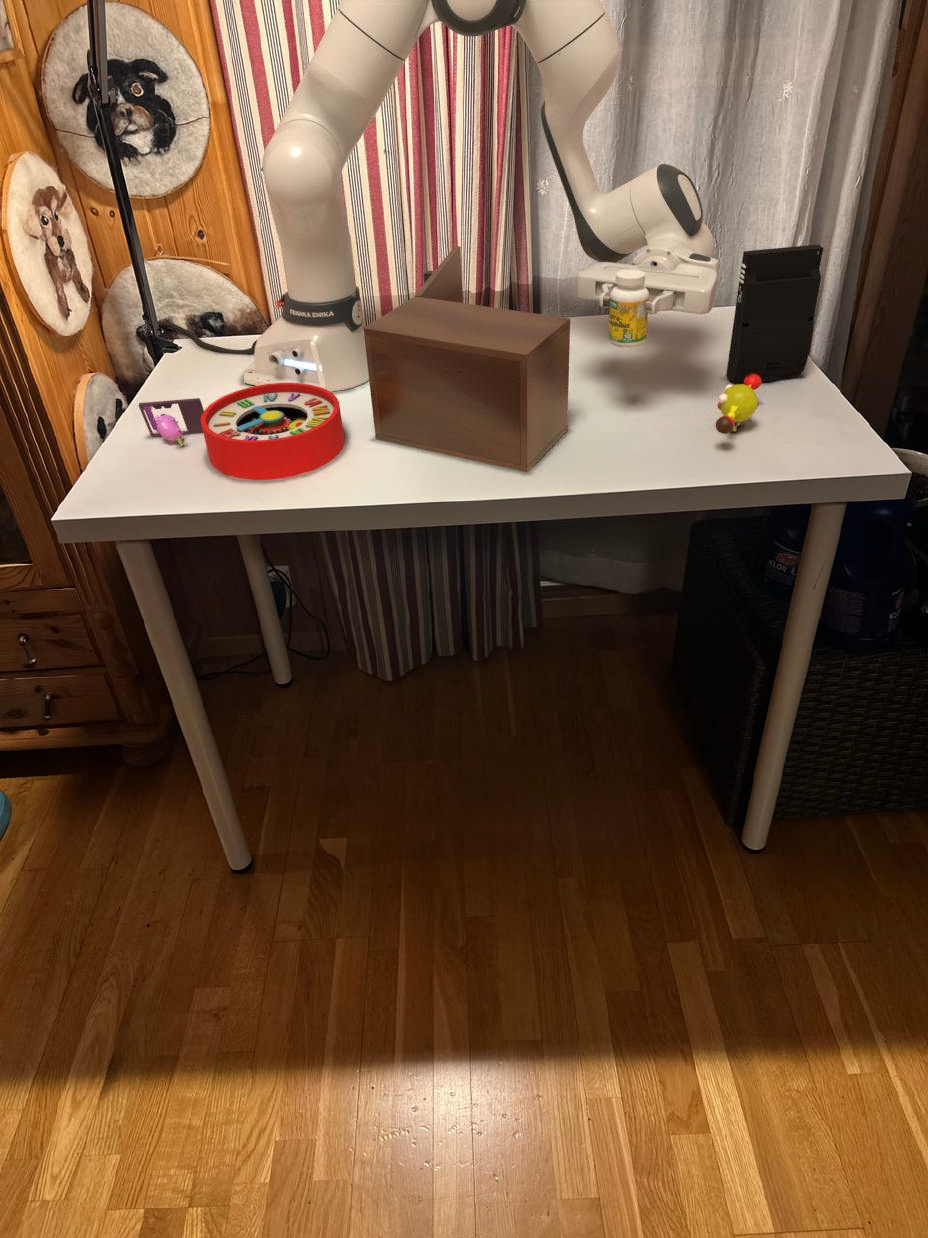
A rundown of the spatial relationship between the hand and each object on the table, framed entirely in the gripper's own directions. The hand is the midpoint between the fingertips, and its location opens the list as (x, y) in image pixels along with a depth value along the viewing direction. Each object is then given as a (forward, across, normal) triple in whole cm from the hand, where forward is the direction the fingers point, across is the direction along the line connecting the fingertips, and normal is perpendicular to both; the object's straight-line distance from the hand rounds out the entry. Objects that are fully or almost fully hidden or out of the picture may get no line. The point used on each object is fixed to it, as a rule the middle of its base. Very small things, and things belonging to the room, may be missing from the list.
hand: (627, 305), depth 129 cm
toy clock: (+29, -43, +17) cm, 55 cm away
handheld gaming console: (-23, +16, +18) cm, 33 cm away
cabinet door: (-5, -37, +17) cm, 41 cm away
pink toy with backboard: (+33, -58, +17) cm, 69 cm away
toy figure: (-4, +16, +18) cm, 24 cm away
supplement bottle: (-1, 0, +6) cm, 6 cm away
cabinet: (+14, -18, +17) cm, 29 cm away
